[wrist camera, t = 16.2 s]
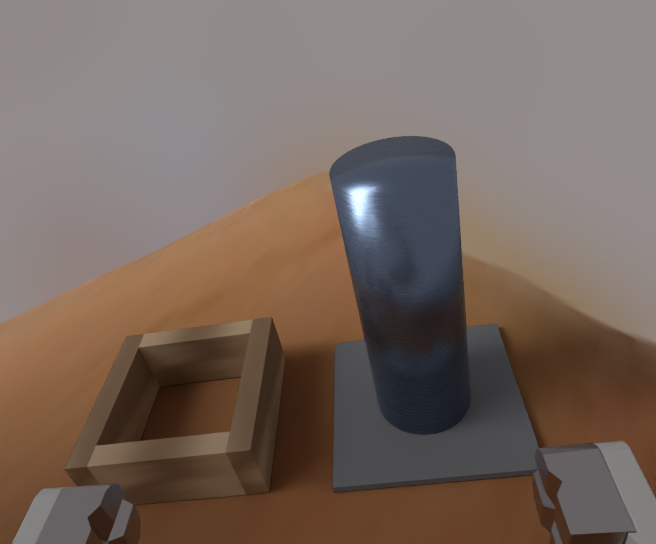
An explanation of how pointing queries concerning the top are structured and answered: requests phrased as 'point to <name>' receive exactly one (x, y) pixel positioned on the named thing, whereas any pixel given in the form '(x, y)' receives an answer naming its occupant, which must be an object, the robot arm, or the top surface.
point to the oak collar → (188, 451)
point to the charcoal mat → (434, 449)
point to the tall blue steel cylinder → (407, 276)
